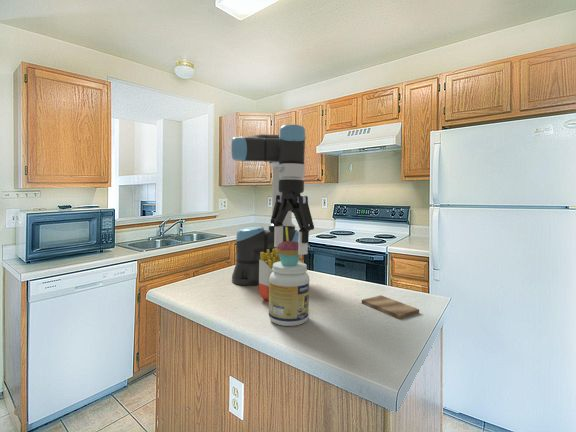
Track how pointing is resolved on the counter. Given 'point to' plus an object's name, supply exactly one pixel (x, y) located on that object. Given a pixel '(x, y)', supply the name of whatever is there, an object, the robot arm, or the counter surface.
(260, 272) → the french fries container
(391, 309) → the cutting board
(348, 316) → the counter surface
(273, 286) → the supplement tub
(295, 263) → the cupcake
